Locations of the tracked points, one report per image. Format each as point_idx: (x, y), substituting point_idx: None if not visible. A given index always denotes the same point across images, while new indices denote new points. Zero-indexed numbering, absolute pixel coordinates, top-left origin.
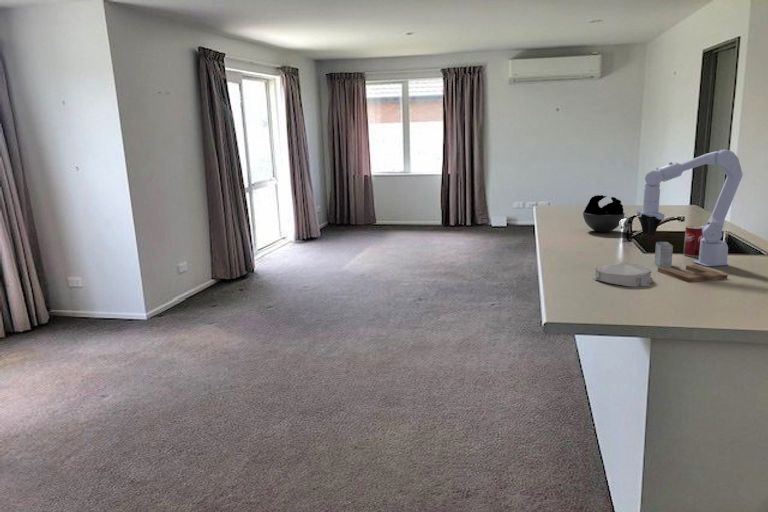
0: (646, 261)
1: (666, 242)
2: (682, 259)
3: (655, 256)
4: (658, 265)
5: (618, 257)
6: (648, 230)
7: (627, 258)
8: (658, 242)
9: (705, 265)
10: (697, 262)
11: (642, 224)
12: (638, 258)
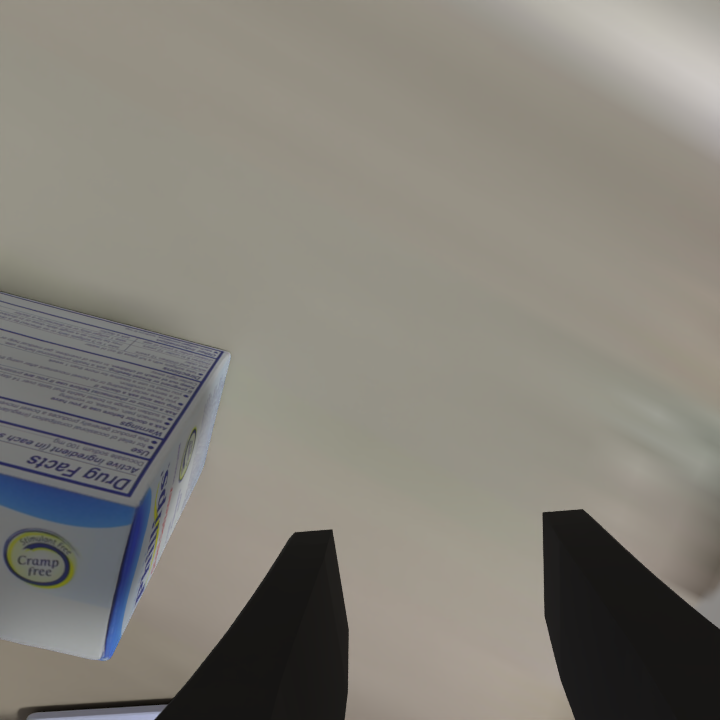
0: (320, 295)
1: (48, 629)
2: (358, 684)
3: (173, 374)
4: (33, 302)
5: (651, 16)
6: (303, 600)
7: (547, 128)
8: (70, 516)
9: (43, 714)
10: (148, 713)
11: (679, 694)
12: (508, 283)
